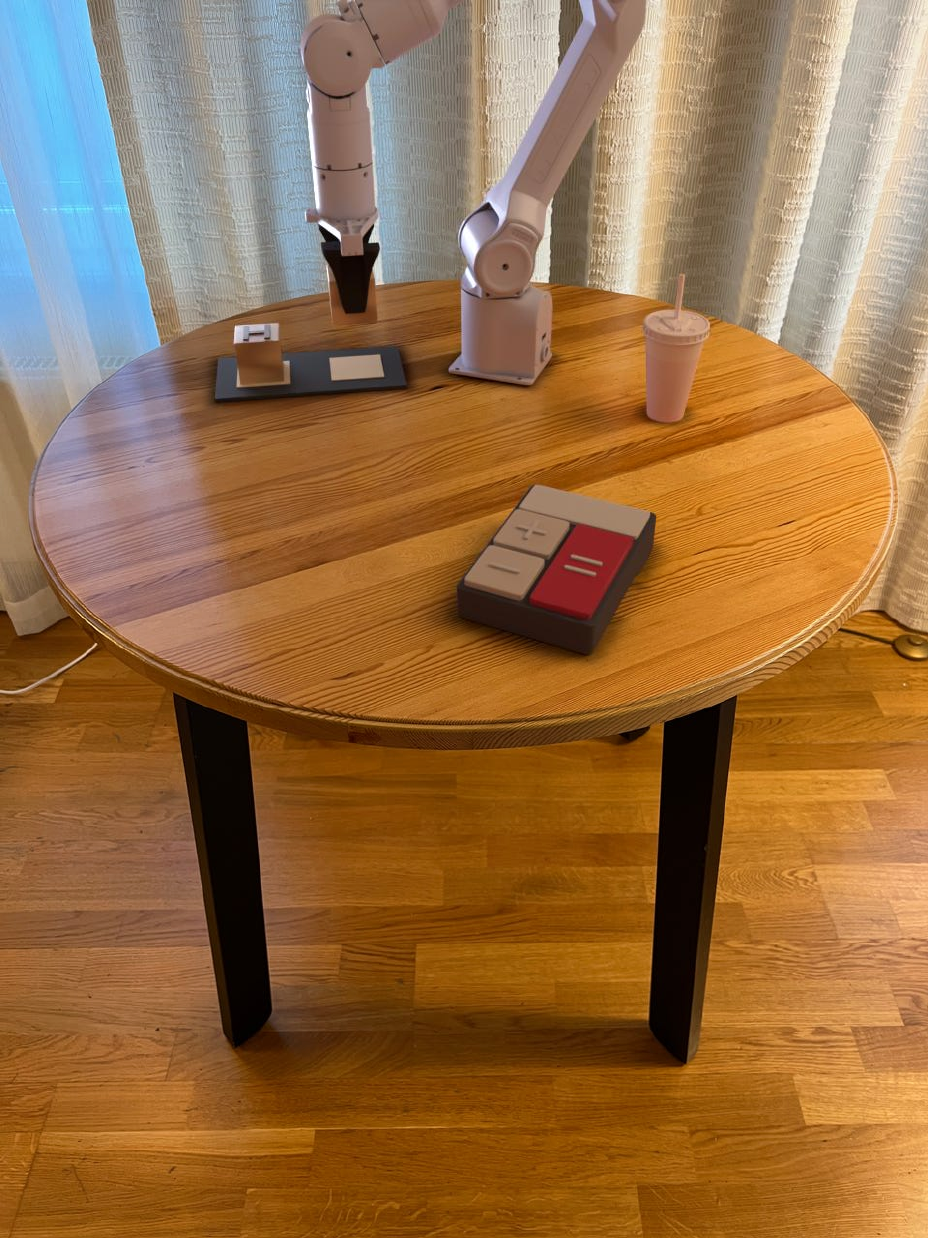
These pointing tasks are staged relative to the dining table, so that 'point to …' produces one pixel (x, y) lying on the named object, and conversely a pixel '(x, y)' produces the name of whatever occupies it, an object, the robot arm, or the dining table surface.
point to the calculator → (558, 568)
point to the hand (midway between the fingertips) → (353, 302)
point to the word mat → (318, 374)
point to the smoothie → (672, 358)
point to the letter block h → (259, 353)
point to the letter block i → (356, 318)
